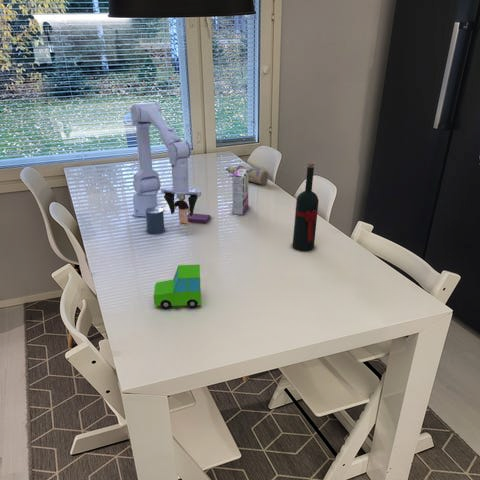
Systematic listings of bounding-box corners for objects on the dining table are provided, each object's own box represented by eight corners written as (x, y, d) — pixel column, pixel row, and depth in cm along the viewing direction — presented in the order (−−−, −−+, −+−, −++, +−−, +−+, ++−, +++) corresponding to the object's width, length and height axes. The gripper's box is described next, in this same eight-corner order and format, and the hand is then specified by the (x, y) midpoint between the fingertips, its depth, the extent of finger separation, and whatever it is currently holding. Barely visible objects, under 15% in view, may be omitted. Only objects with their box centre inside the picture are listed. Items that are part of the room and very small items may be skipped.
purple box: (184, 221, 196) (184, 218, 195) (189, 215, 202) (189, 212, 201) (205, 223, 194) (205, 220, 194) (210, 217, 200) (210, 214, 199)
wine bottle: (299, 255, 170) (306, 169, 154) (289, 243, 179) (295, 161, 163) (319, 253, 172) (329, 167, 156) (309, 241, 181) (317, 160, 164)
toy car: (156, 294, 145) (153, 264, 140) (200, 292, 146) (199, 262, 141) (154, 311, 136) (151, 280, 131) (201, 310, 137) (200, 279, 132)
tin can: (144, 233, 185) (142, 212, 180) (151, 227, 190) (149, 206, 186) (161, 235, 184) (159, 213, 179) (166, 228, 189) (165, 207, 185)
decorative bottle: (269, 183, 243) (269, 169, 239) (259, 186, 238) (260, 172, 234) (232, 172, 257) (232, 160, 254) (222, 175, 253) (222, 162, 249)
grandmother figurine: (195, 223, 181) (192, 190, 174) (190, 227, 178) (187, 194, 171) (177, 220, 184) (174, 187, 176) (172, 224, 181) (168, 191, 173)
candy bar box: (237, 205, 213) (237, 168, 204) (248, 206, 212) (249, 169, 204) (231, 214, 204) (232, 175, 195) (243, 215, 203) (244, 176, 194)
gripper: (157, 178, 170) (159, 215, 177) (196, 181, 167) (197, 219, 174) (163, 173, 175) (166, 209, 183) (202, 176, 173) (203, 212, 180)
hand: (182, 213), depth 179 cm, fingers closed on grandmother figurine, 6 cm apart
